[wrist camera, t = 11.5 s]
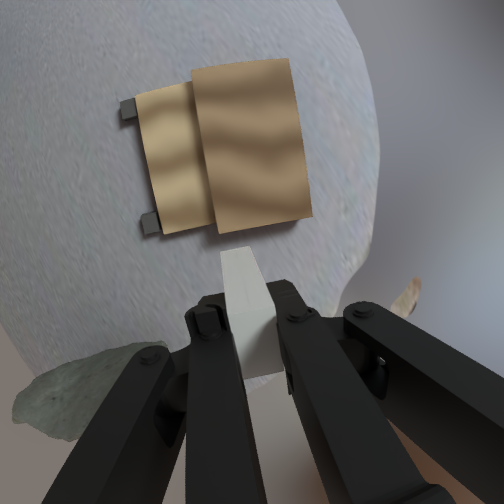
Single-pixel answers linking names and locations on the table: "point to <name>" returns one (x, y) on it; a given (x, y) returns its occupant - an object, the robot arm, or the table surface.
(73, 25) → the table surface
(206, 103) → the board
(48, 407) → the rock
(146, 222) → the spacers
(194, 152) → the plank
